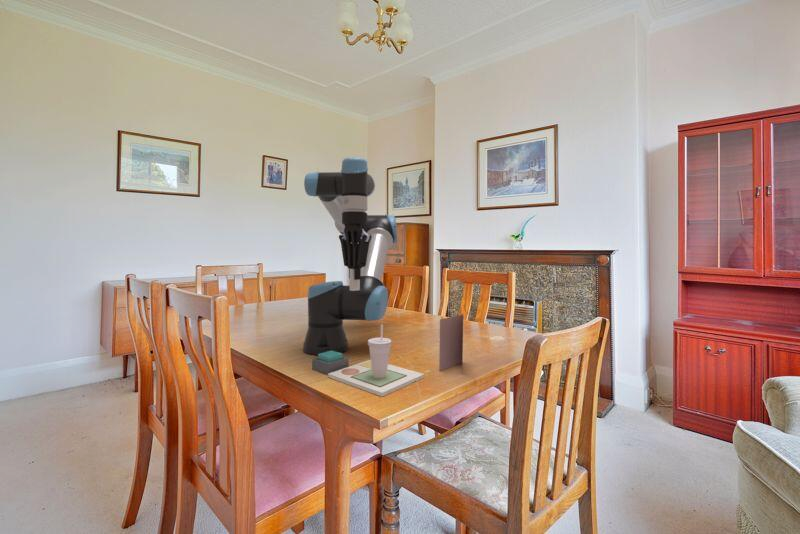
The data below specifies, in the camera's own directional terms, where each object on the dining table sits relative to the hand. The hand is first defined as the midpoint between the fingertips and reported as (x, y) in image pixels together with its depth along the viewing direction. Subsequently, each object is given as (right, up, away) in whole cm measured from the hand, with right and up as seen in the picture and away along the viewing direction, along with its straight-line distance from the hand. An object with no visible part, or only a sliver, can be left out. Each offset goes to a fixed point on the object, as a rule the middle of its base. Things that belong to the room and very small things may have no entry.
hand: (354, 290), depth 113 cm
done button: (-7, -21, -4) cm, 23 cm away
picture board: (+7, -23, -11) cm, 27 cm away
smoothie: (+8, -22, -13) cm, 27 cm away
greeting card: (+31, -23, -3) cm, 39 cm away
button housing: (-7, -23, -4) cm, 24 cm away
